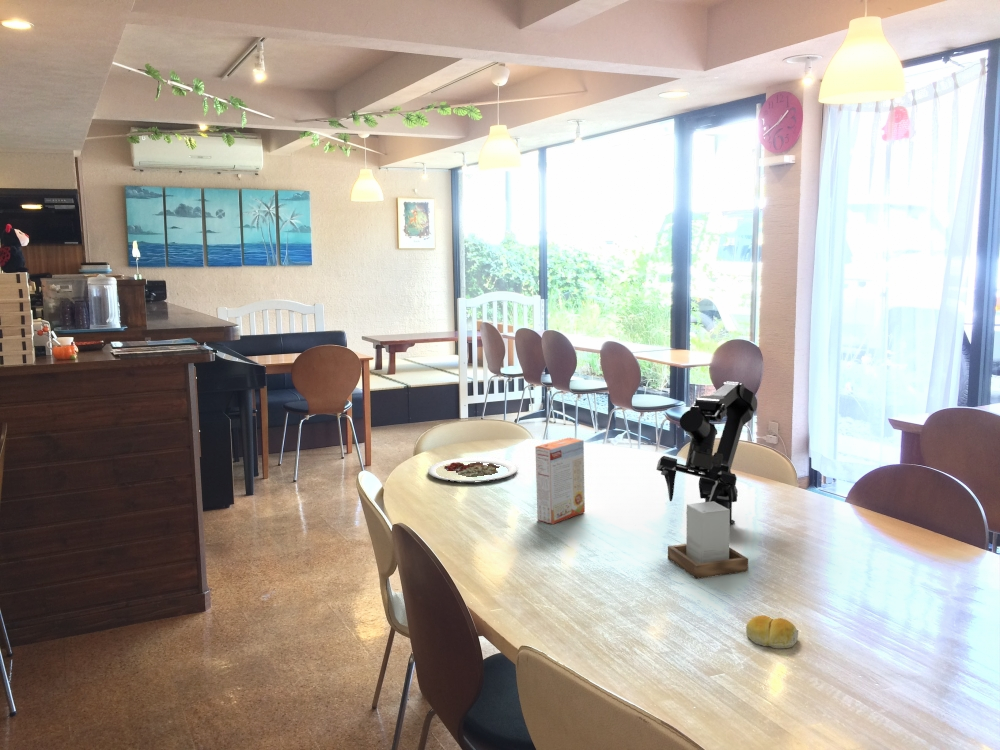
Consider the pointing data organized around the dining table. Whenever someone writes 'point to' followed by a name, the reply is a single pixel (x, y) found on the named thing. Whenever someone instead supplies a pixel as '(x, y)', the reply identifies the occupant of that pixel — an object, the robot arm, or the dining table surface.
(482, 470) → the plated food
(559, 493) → the cracker box
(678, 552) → the tray
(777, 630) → the bread roll
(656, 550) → the dining table surface
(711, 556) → the supplement box
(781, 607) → the dining table surface
